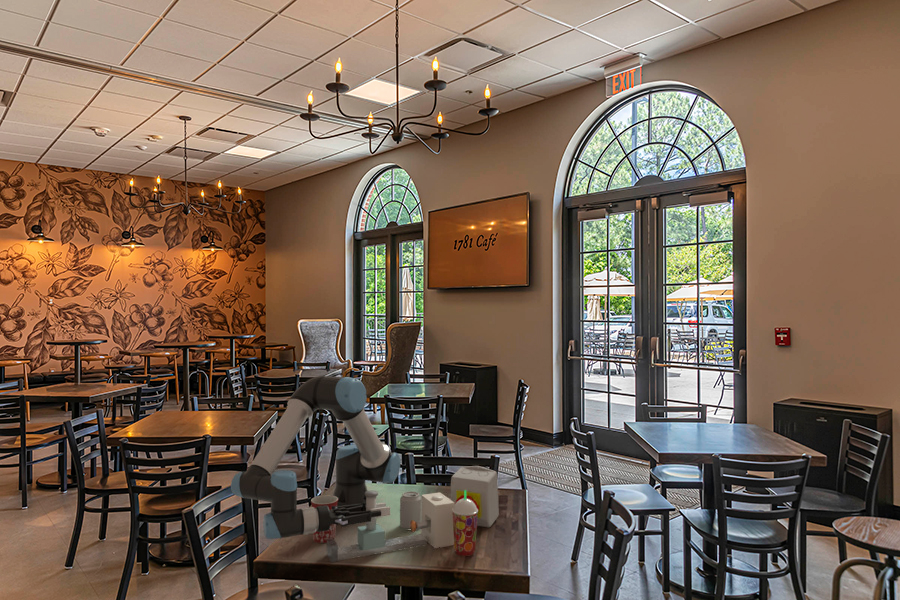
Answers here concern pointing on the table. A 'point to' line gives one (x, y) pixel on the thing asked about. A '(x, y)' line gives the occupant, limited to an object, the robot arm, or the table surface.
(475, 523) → the smoothie
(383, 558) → the table surface
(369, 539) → the carriage
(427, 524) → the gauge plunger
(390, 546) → the rail
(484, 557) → the table surface
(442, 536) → the white notched housing
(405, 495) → the can
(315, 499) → the mug
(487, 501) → the electrical switch box
